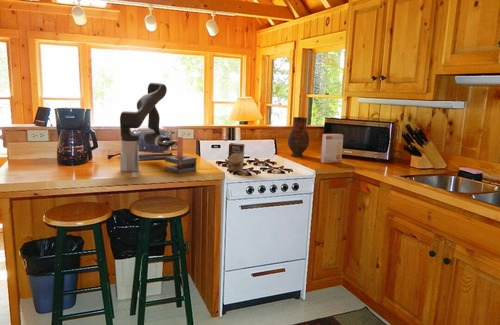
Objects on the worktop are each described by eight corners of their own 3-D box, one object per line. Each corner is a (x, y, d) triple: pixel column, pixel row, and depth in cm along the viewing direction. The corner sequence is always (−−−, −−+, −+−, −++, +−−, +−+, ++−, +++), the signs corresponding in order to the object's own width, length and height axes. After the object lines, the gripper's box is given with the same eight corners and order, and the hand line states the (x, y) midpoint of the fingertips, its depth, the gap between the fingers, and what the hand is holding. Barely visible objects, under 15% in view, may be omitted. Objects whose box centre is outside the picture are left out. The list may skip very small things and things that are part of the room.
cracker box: (336, 162, 276) (339, 133, 272) (341, 163, 270) (344, 134, 266) (319, 162, 271) (322, 133, 267) (324, 163, 266) (326, 134, 262)
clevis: (178, 174, 210) (179, 160, 209) (164, 170, 217) (164, 157, 216) (196, 171, 221) (196, 157, 219) (182, 167, 228) (182, 154, 226)
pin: (179, 171, 216) (180, 137, 213) (175, 170, 218) (176, 136, 214) (183, 171, 219) (183, 137, 215) (179, 170, 220) (180, 136, 217)
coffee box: (227, 170, 226) (228, 144, 223) (228, 168, 233) (229, 142, 230) (242, 171, 226) (243, 145, 223) (243, 169, 232) (244, 143, 229)
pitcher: (290, 158, 282) (293, 118, 277) (282, 153, 303) (284, 115, 297) (311, 158, 286) (314, 118, 280) (301, 153, 306) (304, 116, 301)
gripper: (152, 136, 229) (163, 139, 216) (173, 135, 237) (185, 139, 225) (152, 148, 230) (163, 152, 217) (173, 147, 239) (185, 151, 226)
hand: (174, 145), depth 221 cm, fingers open, 8 cm apart
